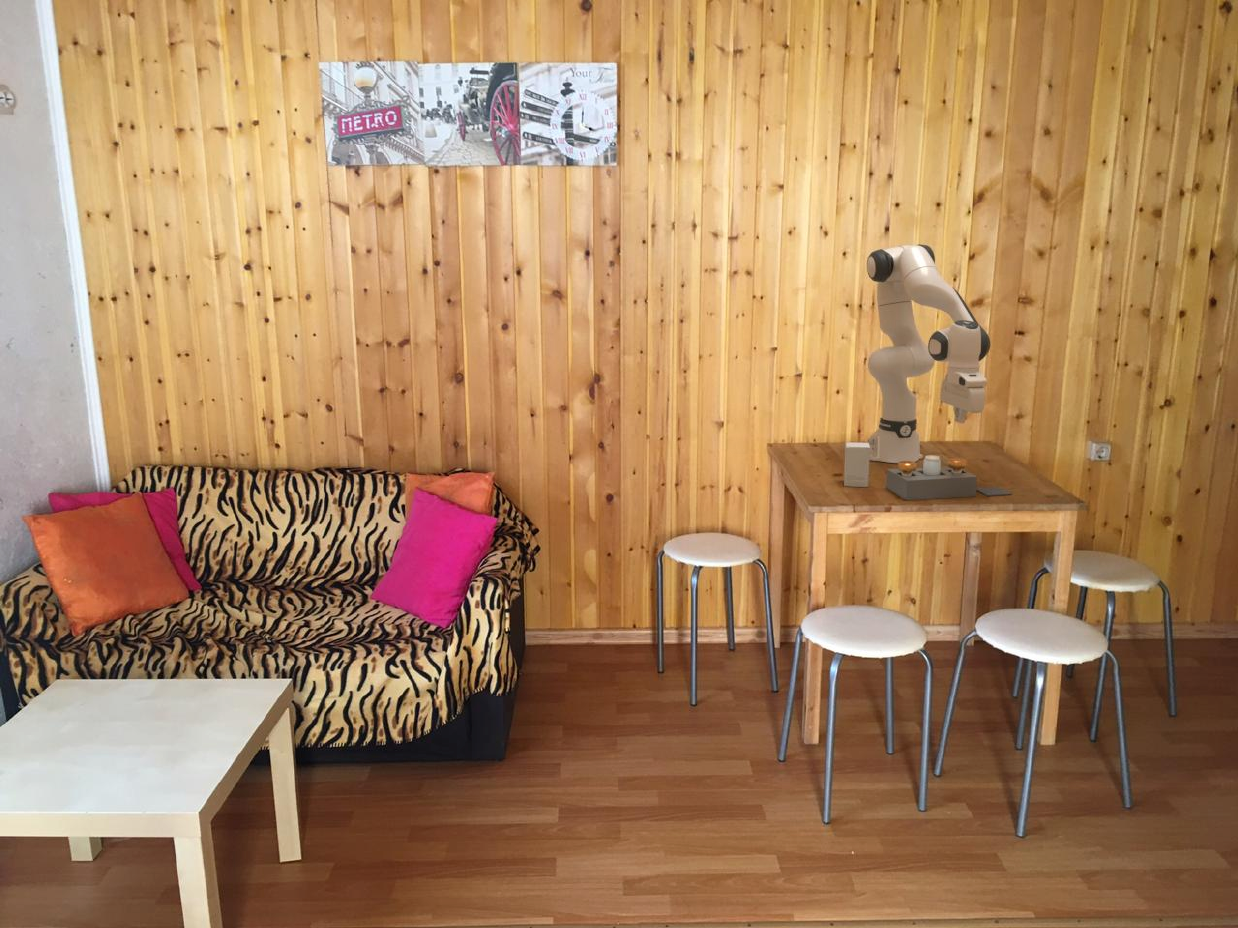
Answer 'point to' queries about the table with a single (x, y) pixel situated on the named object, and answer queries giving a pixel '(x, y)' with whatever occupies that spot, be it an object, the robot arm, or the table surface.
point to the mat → (993, 491)
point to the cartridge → (932, 465)
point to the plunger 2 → (956, 465)
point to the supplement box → (856, 464)
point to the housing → (931, 484)
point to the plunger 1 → (906, 467)
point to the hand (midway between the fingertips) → (959, 422)
